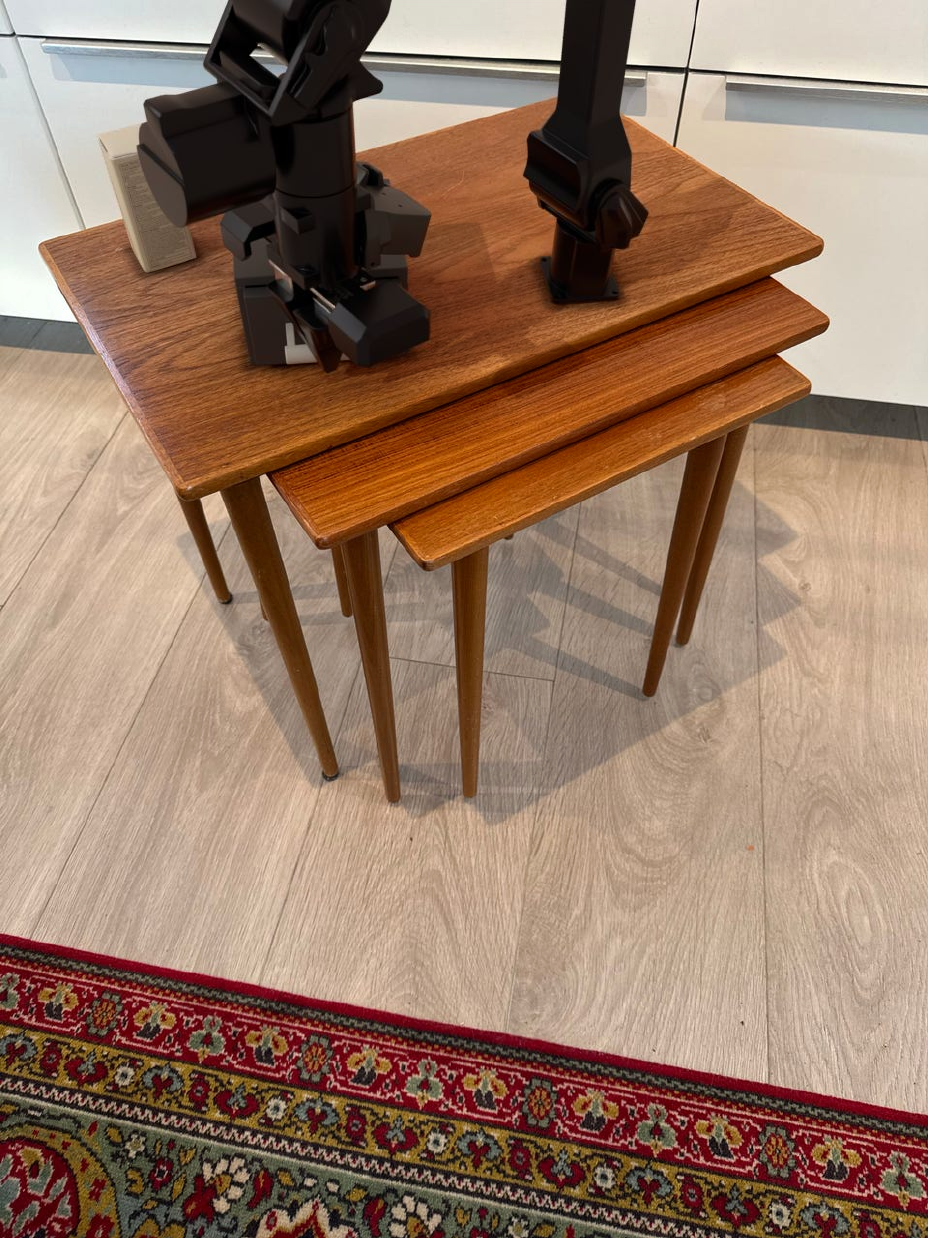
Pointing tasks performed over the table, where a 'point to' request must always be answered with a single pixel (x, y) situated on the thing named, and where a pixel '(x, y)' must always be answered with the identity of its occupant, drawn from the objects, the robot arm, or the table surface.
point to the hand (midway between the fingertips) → (330, 370)
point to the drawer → (278, 329)
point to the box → (142, 205)
